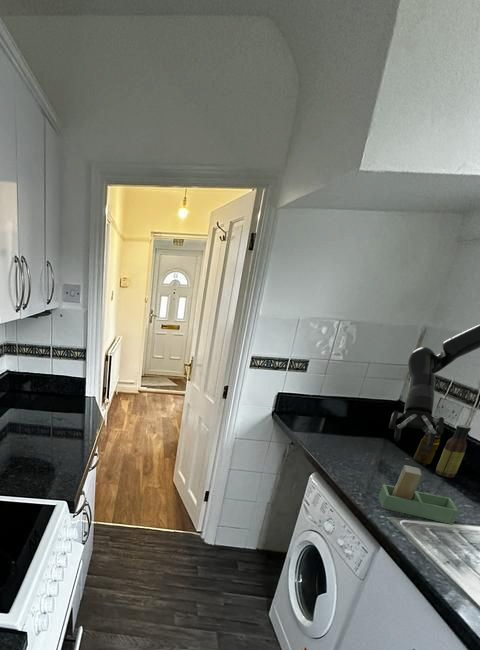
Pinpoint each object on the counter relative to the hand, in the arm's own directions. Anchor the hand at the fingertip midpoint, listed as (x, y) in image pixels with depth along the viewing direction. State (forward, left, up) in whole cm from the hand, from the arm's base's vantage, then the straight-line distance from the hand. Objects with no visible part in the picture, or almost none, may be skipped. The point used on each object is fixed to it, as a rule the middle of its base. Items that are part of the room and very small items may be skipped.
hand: (413, 442), depth 134 cm
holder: (-4, +9, -19) cm, 22 cm away
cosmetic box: (0, +9, -18) cm, 20 cm away
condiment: (-14, -44, -19) cm, 50 cm away
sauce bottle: (-20, -33, -19) cm, 43 cm away
